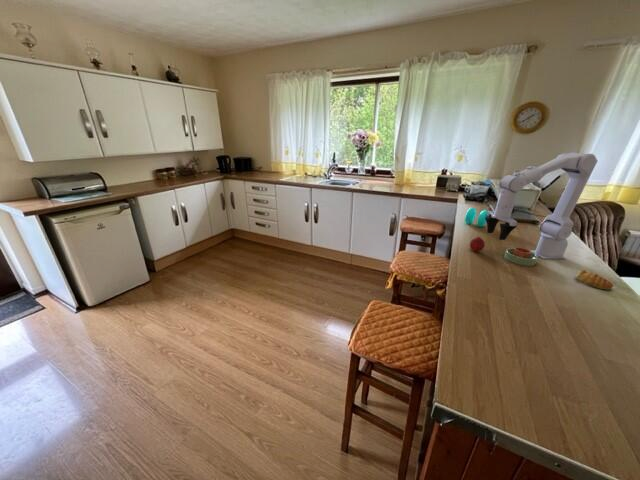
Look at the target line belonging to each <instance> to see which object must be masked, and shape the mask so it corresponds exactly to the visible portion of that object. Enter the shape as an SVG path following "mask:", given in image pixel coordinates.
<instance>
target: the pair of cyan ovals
mask: <svg viewBox="0 0 640 480" xmlns="http://www.w3.org/2000/svg"><path fill="white" fill-rule="evenodd" d="M488 211H489V210H488V209H484V210H482V211H481V212H480V213H479V214H478V216H477V209H476V208H475V207H470V208H469V209H468V210H467V211H466V213H465V216H464V222H465V224H466V225H470V224H472V223H473V222H474V220H476V222H477V223H476V225H477V226H478V227H479V228H483V227H485V226H486V225H487V222H486V219H485V217H488V215H487V214H488ZM476 216H477V219H476Z"/></svg>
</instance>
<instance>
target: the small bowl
mask: <svg viewBox="0 0 640 480" xmlns="http://www.w3.org/2000/svg"><path fill="white" fill-rule="evenodd" d="M514 248H515V249H514V252H513V255H514V256H517V257H521V258H526V259H529V256H530V254H531V251H530V250H531V249H529V248H528V249H527V248H524V247H514Z"/></svg>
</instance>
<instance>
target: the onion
mask: <svg viewBox="0 0 640 480" xmlns="http://www.w3.org/2000/svg"><path fill="white" fill-rule="evenodd" d="M481 237H482V236H481V235H477V237H474V238H472V239H471V240H470V242H469V248H470V249H471V250H472V251H473V252H475V253H476V252H477V253H478V252H480V251H482V250H484V248H485V246H486V245H485V241H484V239H483V238H481Z"/></svg>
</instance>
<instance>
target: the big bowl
mask: <svg viewBox="0 0 640 480" xmlns="http://www.w3.org/2000/svg"><path fill="white" fill-rule="evenodd" d="M515 248H516V247H509V248H506V249H505V252H504V256H503V257H504V259H505V260H507V261H508V262H511V263H513V264H516V265H519V266H524V267H525V266H527V267H532V266H536V264H537V262H538V259H539V255H537V254H535V253H533V252H531V254H530V256H529V259H526V258H521V257H517V256H514V255H513V252H514V249H515Z"/></svg>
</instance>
